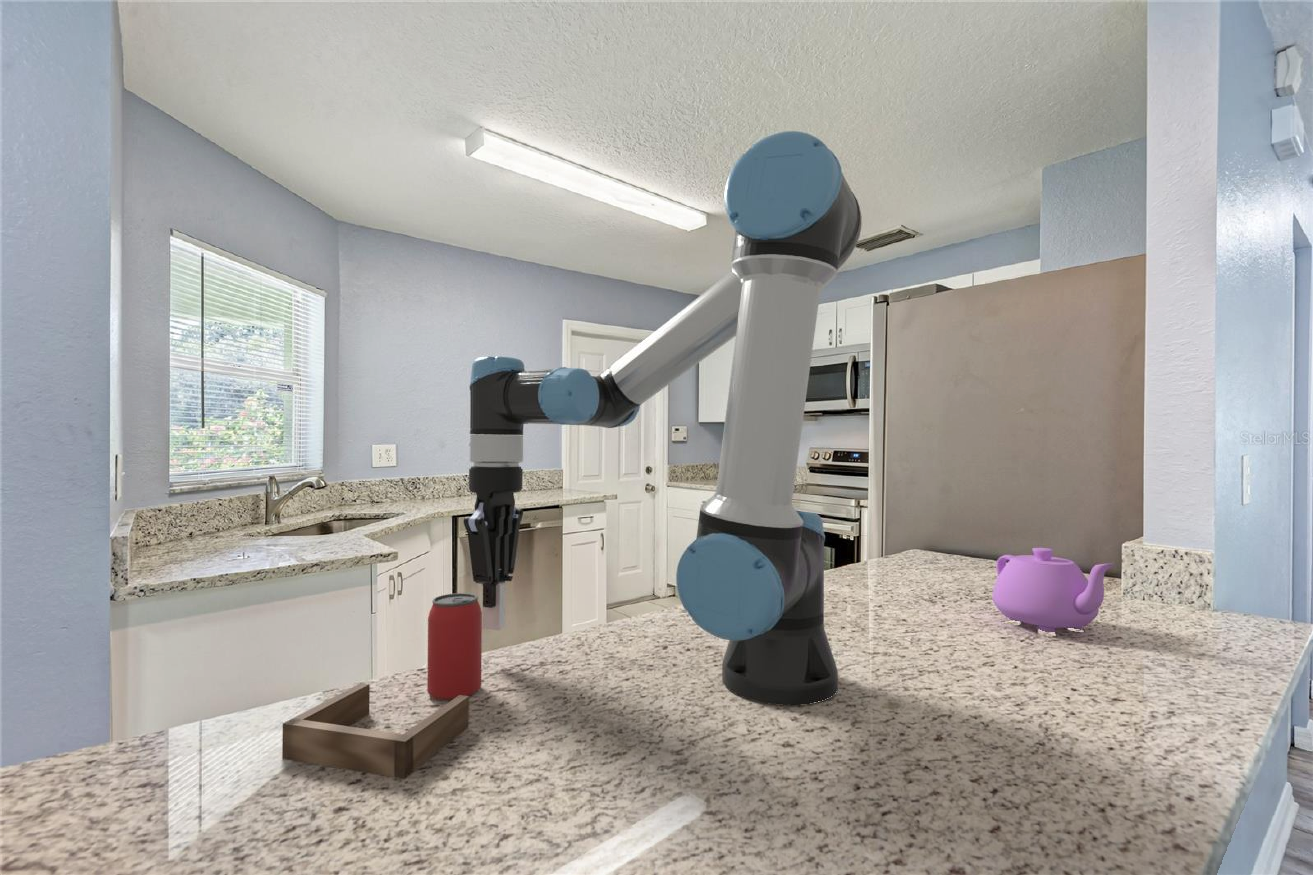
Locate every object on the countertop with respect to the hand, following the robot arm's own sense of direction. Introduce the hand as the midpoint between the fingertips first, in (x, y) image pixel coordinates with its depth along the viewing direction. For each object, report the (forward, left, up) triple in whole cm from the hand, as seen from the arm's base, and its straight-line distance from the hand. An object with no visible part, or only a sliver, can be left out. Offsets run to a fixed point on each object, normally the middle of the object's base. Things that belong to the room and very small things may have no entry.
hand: (493, 627), depth 87 cm
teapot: (-84, -41, -6) cm, 94 cm away
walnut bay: (0, +23, -5) cm, 24 cm away
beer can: (0, +10, -6) cm, 11 cm away
